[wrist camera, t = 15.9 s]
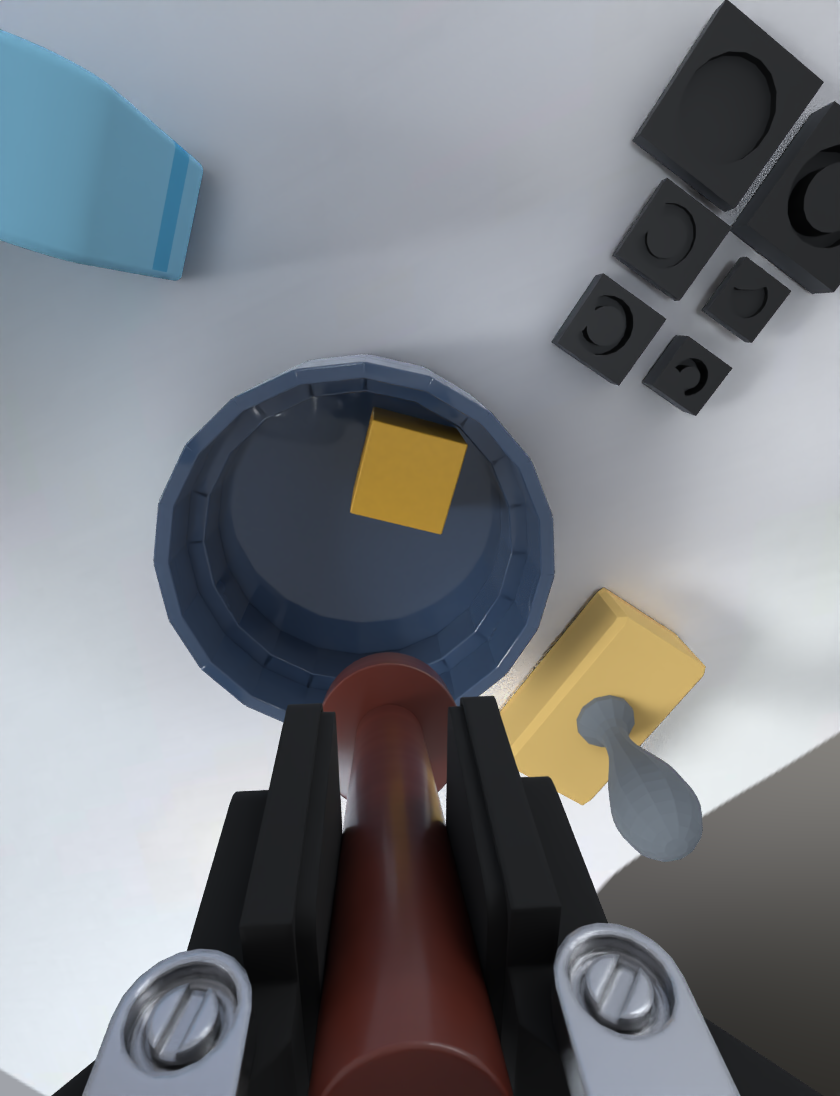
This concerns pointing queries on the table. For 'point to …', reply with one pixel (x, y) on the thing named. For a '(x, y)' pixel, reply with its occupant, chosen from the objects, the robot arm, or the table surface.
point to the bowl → (346, 540)
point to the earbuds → (723, 178)
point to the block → (408, 471)
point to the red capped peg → (399, 904)
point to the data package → (88, 169)
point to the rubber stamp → (611, 722)
